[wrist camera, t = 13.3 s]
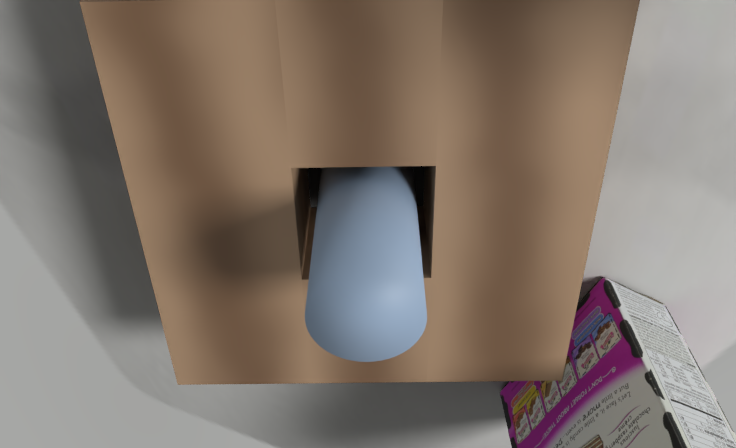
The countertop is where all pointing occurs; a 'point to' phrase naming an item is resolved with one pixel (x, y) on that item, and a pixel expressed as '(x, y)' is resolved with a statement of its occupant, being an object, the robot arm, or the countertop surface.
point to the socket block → (363, 149)
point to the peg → (366, 264)
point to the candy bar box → (619, 384)
